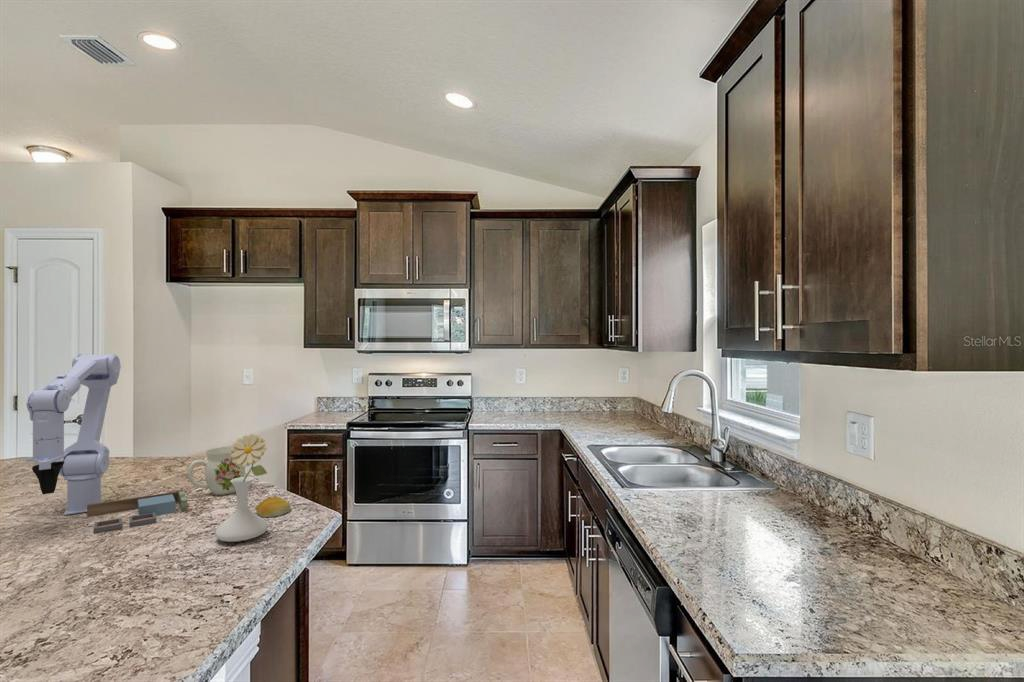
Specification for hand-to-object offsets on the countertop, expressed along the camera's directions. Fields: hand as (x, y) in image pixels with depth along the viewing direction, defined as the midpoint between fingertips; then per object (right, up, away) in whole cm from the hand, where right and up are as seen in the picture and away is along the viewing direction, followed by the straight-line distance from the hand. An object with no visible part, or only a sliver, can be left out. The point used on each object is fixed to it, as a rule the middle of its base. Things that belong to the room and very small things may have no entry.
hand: (48, 493), depth 126 cm
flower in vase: (+51, -10, -4) cm, 52 cm away
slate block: (+17, -10, +15) cm, 24 cm away
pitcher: (+24, -10, +32) cm, 42 cm away
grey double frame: (+16, -9, +4) cm, 19 cm away
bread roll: (+49, -10, +14) cm, 52 cm away
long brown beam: (+13, -9, +13) cm, 20 cm away
